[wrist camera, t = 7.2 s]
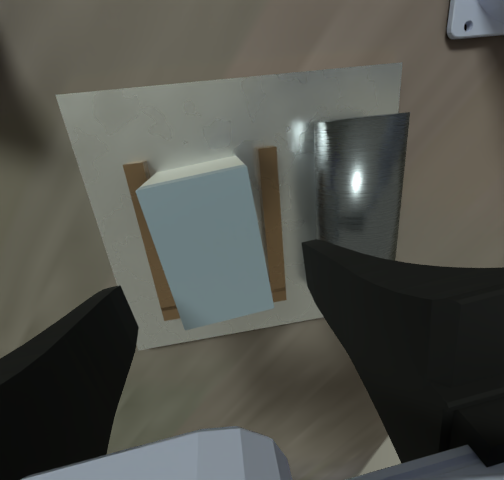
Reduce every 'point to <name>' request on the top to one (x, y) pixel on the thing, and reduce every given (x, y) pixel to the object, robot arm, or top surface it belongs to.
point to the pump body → (208, 240)
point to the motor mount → (260, 174)
